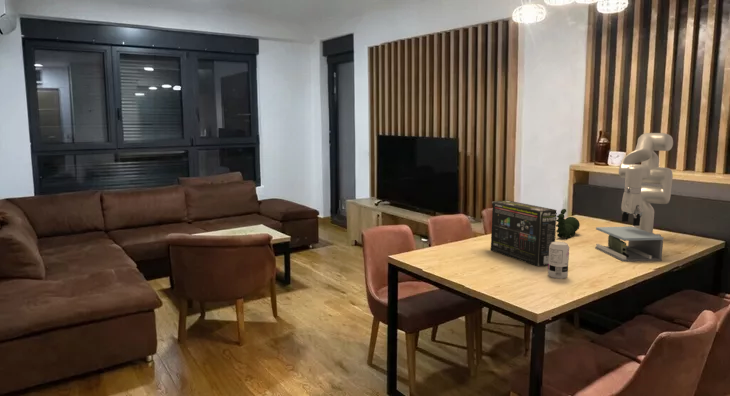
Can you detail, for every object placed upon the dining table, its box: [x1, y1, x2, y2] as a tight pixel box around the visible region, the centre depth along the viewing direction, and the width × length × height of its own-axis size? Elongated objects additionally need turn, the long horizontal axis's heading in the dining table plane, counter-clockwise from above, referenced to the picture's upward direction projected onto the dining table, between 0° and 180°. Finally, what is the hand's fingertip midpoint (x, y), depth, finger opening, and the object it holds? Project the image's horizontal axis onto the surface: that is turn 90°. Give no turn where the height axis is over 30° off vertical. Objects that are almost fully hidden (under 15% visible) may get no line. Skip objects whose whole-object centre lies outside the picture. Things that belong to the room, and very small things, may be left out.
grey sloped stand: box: [594, 239, 664, 263], centre depth 262 cm, size 20×26×10 cm
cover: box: [595, 225, 664, 242], centre depth 261 cm, size 20×26×1 cm
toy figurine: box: [555, 208, 581, 239], centre depth 302 cm, size 9×19×25 cm
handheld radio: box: [607, 235, 629, 257], centre depth 262 cm, size 7×3×25 cm
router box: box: [490, 200, 558, 267], centre depth 257 cm, size 36×11×27 cm, turn 26°
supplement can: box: [547, 241, 570, 280], centre depth 225 cm, size 8×8×15 cm
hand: (630, 223), depth 261 cm, fingers open, 9 cm apart
